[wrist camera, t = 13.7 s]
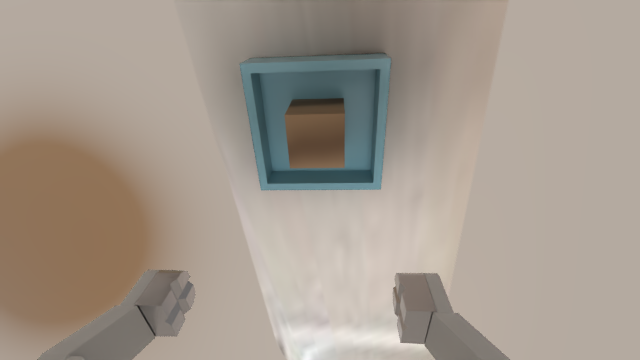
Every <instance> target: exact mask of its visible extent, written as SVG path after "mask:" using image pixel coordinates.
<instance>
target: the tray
mask: <svg viewBox="0 0 640 360" xmlns="http://www.w3.org/2000/svg"><path fill="white" fill-rule="evenodd" d="M390 67H391V58H390V57H389V56H388V55H387V54H385V53H376V54H349V55H322V56H295V57H268V58H250V59H248V60H246V61H244V62H242V63H240V70H241V76H242V81H243V87H244V93H245V99H246V105H247V111H248V117H249V122H250V128H251V134H252V140H253V146H254V152H255V158H256V163H257V169H258V175H259V181H260V187H261V190H375V189H381V180H382V168H383V155H384V142H385V130H386V117H387V105H388V92H389V80H390ZM329 98H344V110H345V168H290V164H289V154H288V145H287V135H286V125H285V116H284V115H285V113H286V111H287V109H288V107H289V105H290V103H291V101H292V100H293V99H329Z"/></svg>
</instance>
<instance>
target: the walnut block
mask: <svg viewBox="0 0 640 360" xmlns="http://www.w3.org/2000/svg"><path fill="white" fill-rule="evenodd" d="M284 116H285V125H286V135H287V145H288V154H289V164H290V168H345V110H344V98H329V99H293V100H292V101H291V103H290V105H289V107H288V109H287V111H286V113H285V115H284Z"/></svg>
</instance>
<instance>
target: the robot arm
mask: <svg viewBox="0 0 640 360" xmlns="http://www.w3.org/2000/svg"><path fill="white" fill-rule="evenodd" d="M189 278H190V276H189V273H188V271H176V270H147V271H146V272H144V274H143V275H142V276H141V278H140V279H139V280H138V282H137V283H136V284H135V286H134V287H133V289H132V290H131V291H130V292H129V294H128V295H127V296H126V298H125V299H124V300H123V302H122V303H121V304H120V306H114V307H113V308H111V309H110V310H108V311H107V312H105V313H104V314H102V315H101V316H99V317H98V318H96V319H95V320H93V321H92V322H90V323H89V324H87V325H85V326H84V327H82V328H81V329H79V330H78V331H76V332H75V333H73V334H72V335H70V336H69V337H67V338H66V339H64V340H63V341H61V342H59V343H58V344H56V345H55V346H54V347H52V348H50V349H49V350H47V351H46V352H44V353H43V354H42V355H41V356H40V357H39V358H38V359H37V360H132V359H133V358H134V357H135V356H136V355H137V354H138V353H139V352H141V351H142V350H143V349H144V348H145V347H146V346H147V345H148V344H149V343H150V342H151V341H152V340H153V339H154V338H155V336H177V335H178V333H179V331H180V329H181V327H182V325H183V323H184V321H185V317H184V314H185V313H186V312H187V311H189V310H190V309H191V307H192V304H193V303H194V298H195V288H194V285H193V284H192V283H190V282H189V281H188V280H189ZM395 284H396V286H395V287H394V288H393V306H394V312H395V314H396V315H397V316H398V322H397V327H398V332H399V338H400V343H415V344H425V347H426V348H427V349H428V350H429V352H430V353H431V354H432V356H433V357H434V358H435V359H436V360H510V359H509V358H508V357H507V356H506V355H504V354H503V353H502V352H501V351H500V350H499V349H498V348H497V347H495V346H494V345H493V344H492V343H491V342H490V341H489V340H488V339H486V338H485V337H484V336H483V335H482V334H481V333H480V332H479V331H478V330H476V329H475V328H474V327H473V326H472V325H471V324H470V323H468V322H467V321H466V320H465V319H464V318H463V317H462V316H461V315H460V314H458V313H454V312H453V310H452V307H451V305H450V302H449V300H448V297H447V294H446V292H445V289H444V287H443V284H442V282H441V279H440V277H439V275H438V274H437V273H396V275H395Z"/></svg>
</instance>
